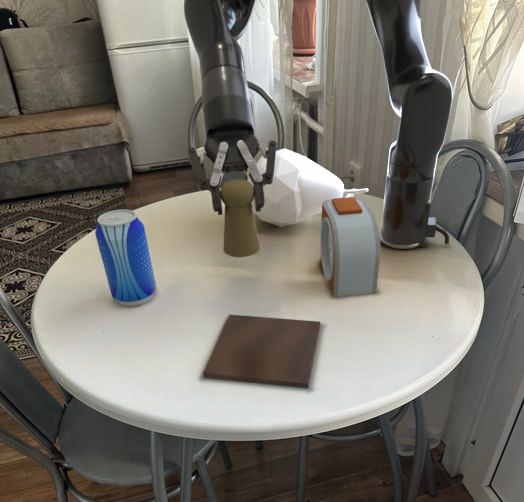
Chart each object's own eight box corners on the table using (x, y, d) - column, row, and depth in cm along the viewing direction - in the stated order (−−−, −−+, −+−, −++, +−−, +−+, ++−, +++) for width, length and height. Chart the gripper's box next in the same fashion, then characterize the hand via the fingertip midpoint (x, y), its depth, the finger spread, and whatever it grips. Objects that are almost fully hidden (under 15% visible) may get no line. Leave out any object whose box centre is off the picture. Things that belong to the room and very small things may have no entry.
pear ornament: (240, 136, 108) (373, 140, 102) (262, 170, 130) (371, 174, 124) (233, 213, 109) (364, 221, 103) (255, 234, 131) (364, 241, 125)
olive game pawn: (255, 258, 79) (251, 189, 72) (219, 256, 80) (211, 188, 73) (263, 241, 84) (260, 175, 77) (228, 239, 85) (222, 174, 78)
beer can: (116, 286, 99) (96, 209, 89) (159, 283, 100) (143, 205, 90) (109, 310, 93) (87, 229, 83) (155, 306, 93) (138, 225, 83)
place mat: (320, 326, 86) (320, 321, 85) (308, 388, 73) (308, 383, 73) (229, 319, 89) (229, 314, 88) (203, 377, 76) (202, 372, 76)
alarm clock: (317, 259, 105) (319, 196, 96) (357, 256, 105) (362, 192, 97) (331, 296, 93) (334, 228, 85) (376, 292, 93) (384, 224, 85)
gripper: (178, 96, 74) (190, 205, 72) (274, 88, 75) (289, 196, 73) (183, 125, 81) (194, 225, 79) (271, 118, 82) (284, 216, 80)
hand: (239, 210), depth 76 cm, fingers closed on olive game pawn, 5 cm apart
